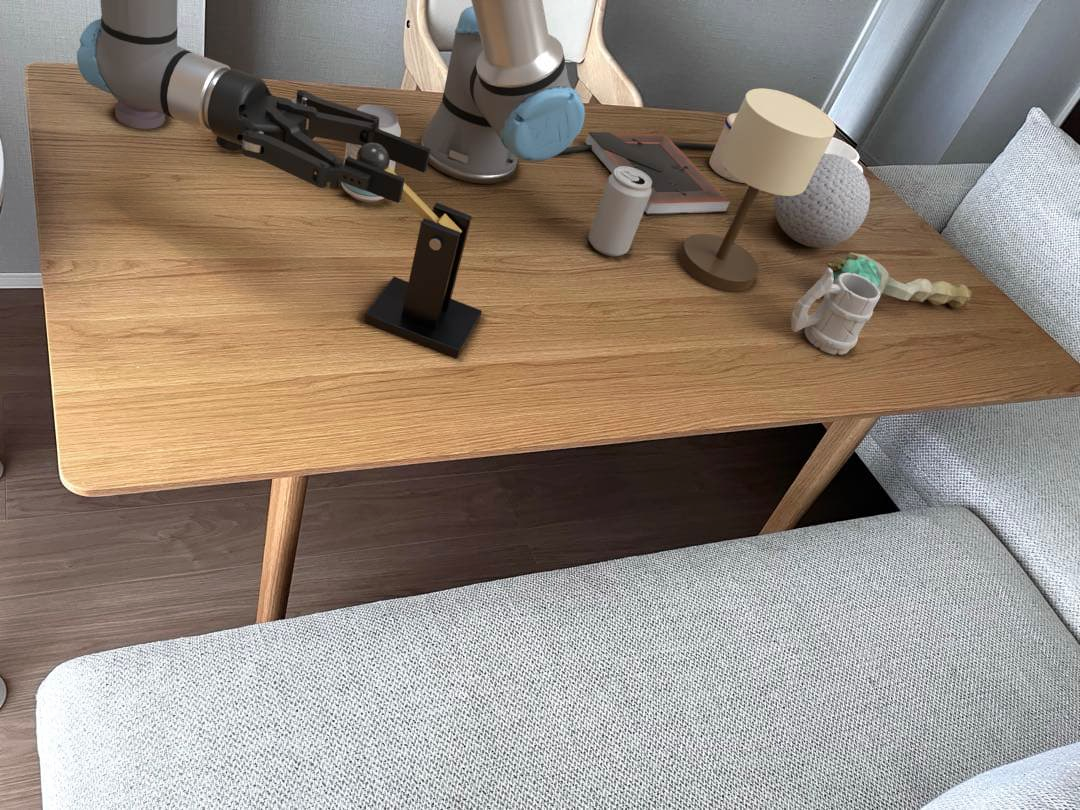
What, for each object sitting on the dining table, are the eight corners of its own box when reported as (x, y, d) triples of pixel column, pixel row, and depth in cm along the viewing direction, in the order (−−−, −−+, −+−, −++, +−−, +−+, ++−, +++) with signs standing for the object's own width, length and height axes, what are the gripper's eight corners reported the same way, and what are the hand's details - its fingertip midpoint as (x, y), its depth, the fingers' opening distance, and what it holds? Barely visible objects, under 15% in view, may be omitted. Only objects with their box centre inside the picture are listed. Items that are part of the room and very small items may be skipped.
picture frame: (584, 144, 159) (645, 215, 146) (588, 131, 157) (651, 202, 145) (660, 145, 167) (724, 213, 154) (665, 133, 165) (730, 200, 153)
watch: (231, 125, 133) (232, 101, 130) (262, 135, 133) (264, 112, 131) (207, 147, 127) (207, 123, 125) (239, 158, 127) (240, 134, 125)
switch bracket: (363, 322, 109) (382, 217, 99) (392, 284, 116) (411, 182, 106) (457, 358, 109) (484, 257, 99) (480, 318, 116) (508, 220, 106)
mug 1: (778, 190, 166) (803, 140, 159) (800, 180, 172) (826, 131, 165) (827, 222, 162) (855, 172, 155) (849, 211, 168) (877, 161, 161)
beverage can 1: (396, 190, 132) (410, 114, 124) (378, 212, 127) (391, 134, 119) (352, 173, 132) (363, 96, 124) (332, 194, 127) (342, 115, 119)
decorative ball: (859, 259, 155) (905, 182, 145) (802, 271, 147) (847, 190, 137) (799, 209, 163) (839, 133, 153) (742, 218, 154) (780, 138, 145)
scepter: (950, 264, 156) (820, 246, 141) (992, 274, 148) (860, 256, 134) (935, 313, 158) (806, 301, 144) (976, 326, 151) (844, 313, 137)
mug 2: (860, 358, 133) (903, 293, 125) (790, 353, 129) (830, 285, 121) (837, 324, 138) (877, 259, 130) (770, 318, 134) (807, 251, 126)
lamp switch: (344, 163, 100) (364, 143, 97) (358, 150, 102) (377, 130, 100) (437, 257, 104) (457, 240, 102) (447, 242, 107) (467, 225, 105)
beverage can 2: (615, 264, 133) (643, 193, 125) (579, 243, 135) (603, 172, 127) (634, 249, 138) (662, 180, 130) (599, 228, 139) (624, 159, 131)
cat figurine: (185, 119, 131) (186, 38, 123) (148, 138, 125) (147, 54, 117) (134, 96, 131) (132, 14, 124) (95, 114, 125) (90, 28, 118)
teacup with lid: (720, 182, 162) (747, 123, 154) (699, 155, 168) (724, 96, 160) (775, 186, 167) (804, 129, 159) (752, 160, 173) (779, 103, 165)
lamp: (730, 242, 147) (803, 92, 130) (770, 293, 139) (853, 140, 122) (662, 241, 142) (729, 84, 125) (700, 294, 134) (776, 133, 117)
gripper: (263, 100, 111) (439, 168, 110) (171, 168, 96) (374, 247, 95) (268, 40, 106) (451, 110, 105) (170, 101, 91) (384, 184, 90)
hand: (414, 175), depth 100 cm, fingers open, 7 cm apart
